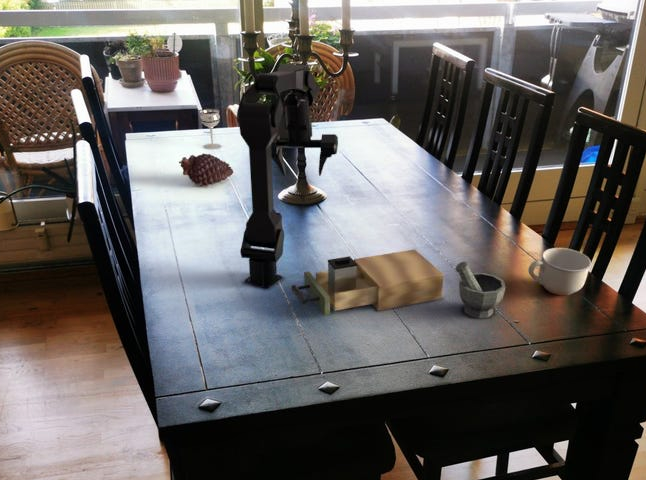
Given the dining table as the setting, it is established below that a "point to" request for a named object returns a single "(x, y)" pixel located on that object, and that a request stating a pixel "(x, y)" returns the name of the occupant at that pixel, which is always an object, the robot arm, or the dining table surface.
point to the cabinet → (402, 278)
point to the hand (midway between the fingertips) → (302, 174)
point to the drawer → (338, 301)
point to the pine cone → (205, 169)
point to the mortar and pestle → (479, 291)
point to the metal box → (341, 275)
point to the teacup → (561, 270)
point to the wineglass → (210, 122)
